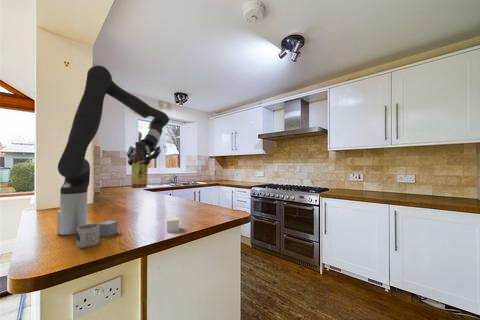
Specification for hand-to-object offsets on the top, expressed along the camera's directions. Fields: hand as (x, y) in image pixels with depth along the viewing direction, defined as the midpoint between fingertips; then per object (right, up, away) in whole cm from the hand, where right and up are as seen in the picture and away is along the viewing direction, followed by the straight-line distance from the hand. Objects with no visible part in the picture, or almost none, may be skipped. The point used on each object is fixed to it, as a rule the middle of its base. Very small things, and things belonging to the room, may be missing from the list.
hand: (137, 164), depth 83 cm
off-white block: (+13, -30, +6) cm, 34 cm away
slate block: (-13, -30, +1) cm, 33 cm away
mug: (-13, -30, -11) cm, 35 cm away
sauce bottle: (0, -11, +2) cm, 11 cm away
